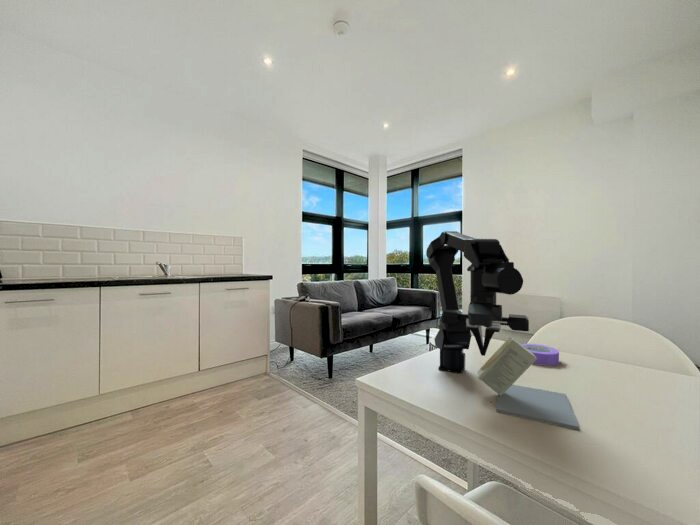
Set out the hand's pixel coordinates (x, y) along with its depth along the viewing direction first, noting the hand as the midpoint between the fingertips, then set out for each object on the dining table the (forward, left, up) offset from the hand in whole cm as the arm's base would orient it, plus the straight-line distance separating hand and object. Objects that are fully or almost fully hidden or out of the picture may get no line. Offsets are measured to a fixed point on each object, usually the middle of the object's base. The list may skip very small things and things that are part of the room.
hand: (483, 355), depth 71 cm
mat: (+10, 0, -9) cm, 14 cm away
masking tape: (+13, +37, -10) cm, 40 cm away
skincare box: (+1, 0, -7) cm, 7 cm away
